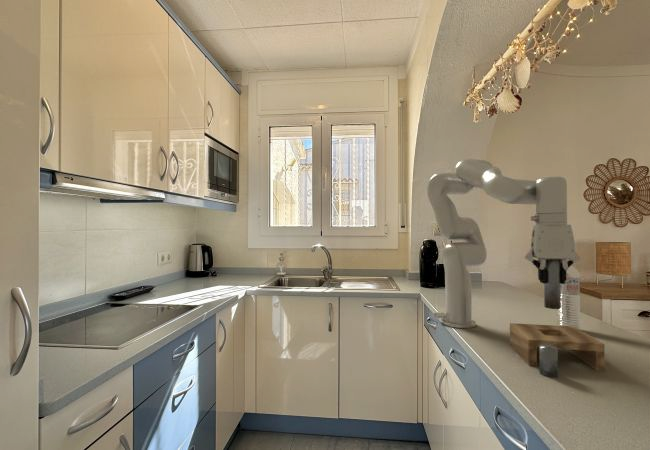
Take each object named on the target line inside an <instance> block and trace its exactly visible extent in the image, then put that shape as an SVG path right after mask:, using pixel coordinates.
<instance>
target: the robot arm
mask: <svg viewBox="0 0 650 450" xmlns="http://www.w3.org/2000/svg"><path fill="white" fill-rule="evenodd" d="M478 188H479V189H481V190H483V192H484V193H485V194H487V196H488V197H491V198H493V199H495V200H498V201H499V202H503V203H506V204H509V205H535V214H534V215H532V216H530V220H531V222H532V221H534V222H535V224H534V225H533V227H532V231H531V232H532V233H531V239H530V249H529V251H528V252H527V253H526V255H525V256H524V259H525V260H527V261H528V262H530V263H531V264H532V265H534V266H535V267H536V269H537V271H538V272H537V275H538V276H537V279H538V280H539V282H540V283H541V284H543V285H544V284H546V283H547V270H545V263H546V259H560V275H561V284H565V281H566V270H568V268H569V267H570V266H573V265H574V263H577V262H578V261H580V260H581V258H580V256H579V254H577V252H576V246H575V237H574V236H575V235H574V232H573V228H572V224H568V190H567V189H568V188H567V180H566V178H565V177H562V176H547V177H540V178H537V180H529V179H518V178H517V179H515V178H510V177H507V176H505V175H502V171H501V169H500V168H498V167H497V166H493V163H491V162H490V161H488V160H484V159H475V158H465V159H462V160H460V161H459V162H458V163H457V164H456V165H455V169H454V172H453V173H452V172H439V173H436V174H433V175H432V176H431V177H430V178H429V180H428V184H427V188H426V190H427V192H426V193H427V198H428V201H429V203H430V205H431V207H432V211H433V213H434V216H435V220H436V224H437V228H438V231H439V234H440V237H441V238H442V239H443V240H446V241H458V242H451V243H448V244H447V245H445V246H444V248H443V249H442V252H441V255H442V256H441V258H442V263H443V268H444V285H445V287H444V288H445V290H444V294H445V303H444V305H445V309H443V311H440V312H438V311H433V312H432V315H433V318H436V319H441V320H440V321H441V323H442V324H443V325H445V326H447V327H452V328H457V329H458V328H459V329H471V328H474V327H476V326H477V322H476V320H475V319H473V318H472V317H473V315H472V313H473V312H472V310H473V308H472V297H473V296H472V277H471V274H470V272H469V269H468V267H477V266H481V265H483V264H484V263H485V261H486V260H487V248H486V245H485V243H484V239H483V235H482V233H481V230H480V227H479V224H478V223H477V222H476V221H475V219H474V218H471V217H468V216H459V214H458V211H457V206H456V205H455V203H454V201H453V200H452V199H451V198H450V197H449V196H448V195H466V194H469V193H472V191H474V190H476V189H478ZM459 241H460V242H459ZM461 241H462V242H461ZM535 258H536V259H535Z"/></svg>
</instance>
